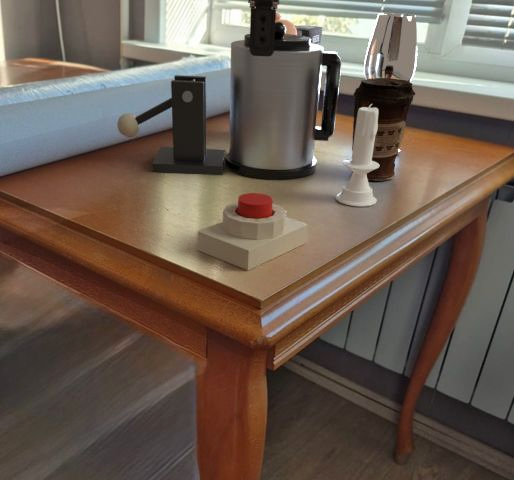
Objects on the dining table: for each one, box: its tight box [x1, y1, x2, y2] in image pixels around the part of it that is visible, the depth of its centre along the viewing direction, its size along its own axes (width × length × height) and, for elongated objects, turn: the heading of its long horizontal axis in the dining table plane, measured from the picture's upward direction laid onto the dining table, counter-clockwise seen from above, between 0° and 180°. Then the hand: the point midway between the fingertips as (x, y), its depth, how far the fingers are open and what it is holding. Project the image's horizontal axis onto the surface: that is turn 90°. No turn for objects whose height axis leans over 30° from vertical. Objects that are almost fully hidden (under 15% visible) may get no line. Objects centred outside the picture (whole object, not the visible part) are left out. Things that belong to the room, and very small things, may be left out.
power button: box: [237, 192, 274, 219], centre depth 63 cm, size 4×4×2 cm
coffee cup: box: [350, 78, 416, 181], centre depth 86 cm, size 9×8×13 cm
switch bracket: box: [151, 74, 226, 176], centre depth 87 cm, size 10×9×12 cm
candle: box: [335, 104, 380, 208], centre depth 77 cm, size 5×5×12 cm
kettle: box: [225, 22, 342, 181], centre depth 86 cm, size 16×14×19 cm
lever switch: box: [116, 79, 195, 138], centre depth 86 cm, size 13×3×3 cm, turn 91°
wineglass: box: [363, 12, 418, 155], centre depth 96 cm, size 8×8×20 cm
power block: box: [197, 201, 309, 272], centre depth 65 cm, size 10×7×4 cm
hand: (261, 54), depth 56 cm, fingers closed
